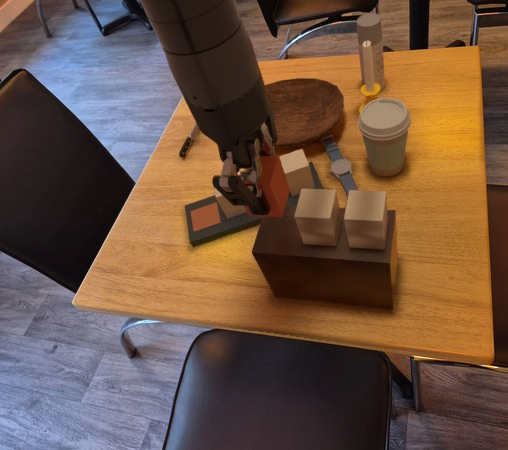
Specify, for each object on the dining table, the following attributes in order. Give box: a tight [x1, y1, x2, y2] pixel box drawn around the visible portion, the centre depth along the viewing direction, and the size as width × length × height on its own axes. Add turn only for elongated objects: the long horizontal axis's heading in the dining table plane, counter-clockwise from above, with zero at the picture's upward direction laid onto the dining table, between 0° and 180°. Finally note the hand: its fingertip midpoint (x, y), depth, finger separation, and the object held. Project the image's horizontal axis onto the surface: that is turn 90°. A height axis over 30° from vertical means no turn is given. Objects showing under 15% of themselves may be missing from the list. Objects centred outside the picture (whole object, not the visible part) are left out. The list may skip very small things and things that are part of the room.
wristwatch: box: [320, 134, 359, 196], centre depth 80 cm, size 4×20×1 cm, turn 15°
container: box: [356, 12, 386, 93], centre depth 87 cm, size 5×5×15 cm
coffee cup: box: [357, 97, 412, 177], centre depth 75 cm, size 8×8×12 cm
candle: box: [358, 40, 381, 114], centre depth 83 cm, size 5×5×16 cm
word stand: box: [250, 188, 399, 310], centre depth 60 cm, size 18×8×19 cm, turn 78°
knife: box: [178, 122, 200, 159], centre depth 94 cm, size 15×1×2 cm, turn 166°
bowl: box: [265, 77, 345, 149], centre depth 88 cm, size 20×22×5 cm
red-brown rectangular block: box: [240, 155, 290, 217], centre depth 52 cm, size 4×4×6 cm
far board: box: [184, 148, 324, 248], centre depth 77 cm, size 9×25×8 cm, turn 105°
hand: (266, 195), depth 53 cm, fingers closed on red-brown rectangular block, 4 cm apart
